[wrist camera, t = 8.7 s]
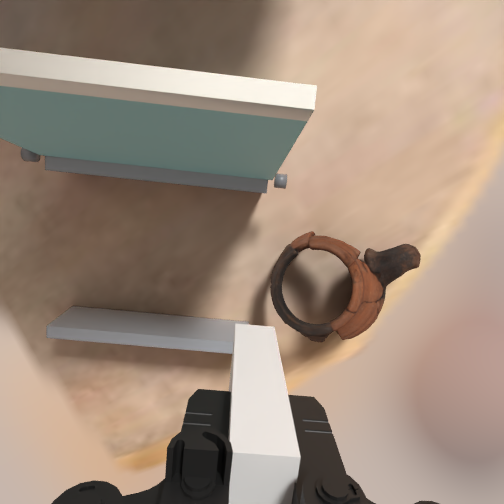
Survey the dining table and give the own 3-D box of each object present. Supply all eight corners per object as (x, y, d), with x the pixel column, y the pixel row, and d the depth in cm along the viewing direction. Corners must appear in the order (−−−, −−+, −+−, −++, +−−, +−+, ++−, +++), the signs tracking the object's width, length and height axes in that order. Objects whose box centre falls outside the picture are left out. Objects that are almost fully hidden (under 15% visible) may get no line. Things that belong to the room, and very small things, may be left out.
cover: (39, 155, 26) (40, 143, 26) (272, 180, 27) (273, 169, 27) (-207, 48, 12) (-205, 22, 12) (314, 109, 12) (316, 85, 12)
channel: (57, 150, 30) (20, 145, 25) (280, 174, 31) (287, 174, 26) (57, 315, 33) (24, 340, 28) (261, 333, 34) (264, 360, 29)
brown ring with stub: (321, 349, 35) (293, 369, 28) (277, 263, 38) (240, 261, 30) (443, 291, 31) (448, 296, 24) (384, 198, 34) (372, 177, 26)
